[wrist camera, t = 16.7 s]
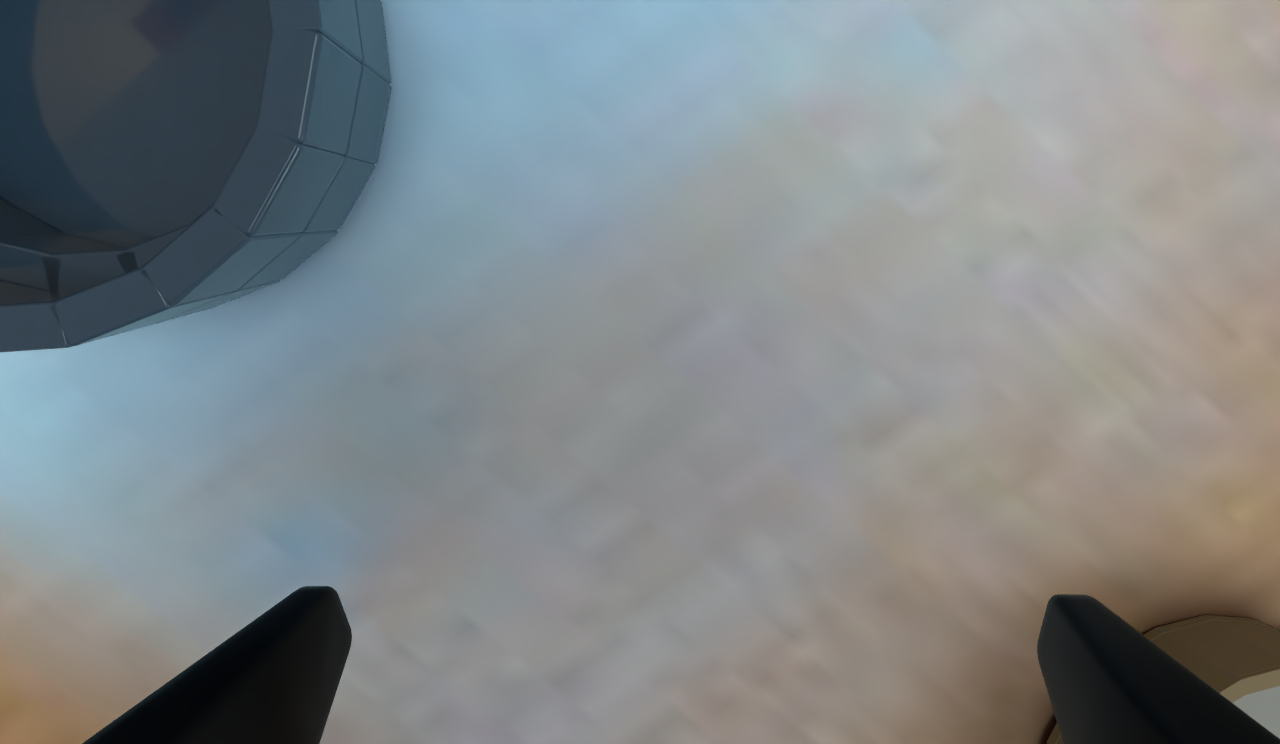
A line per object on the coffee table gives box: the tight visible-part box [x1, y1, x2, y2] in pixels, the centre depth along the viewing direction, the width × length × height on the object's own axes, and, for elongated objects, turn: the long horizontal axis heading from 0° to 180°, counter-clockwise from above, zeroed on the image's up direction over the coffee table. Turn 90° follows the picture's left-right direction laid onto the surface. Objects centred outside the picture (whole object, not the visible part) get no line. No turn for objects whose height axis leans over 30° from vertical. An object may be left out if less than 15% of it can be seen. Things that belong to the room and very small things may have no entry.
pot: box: [0, 0, 391, 352], centre depth 14 cm, size 12×12×6 cm
